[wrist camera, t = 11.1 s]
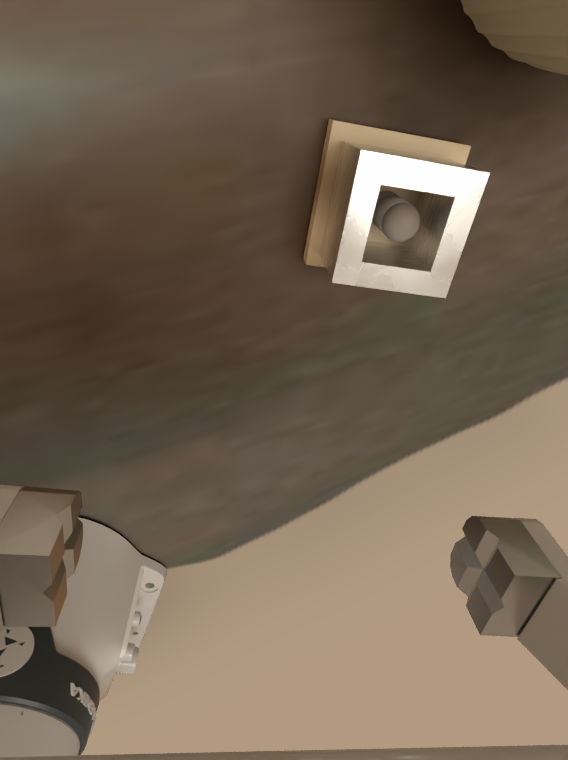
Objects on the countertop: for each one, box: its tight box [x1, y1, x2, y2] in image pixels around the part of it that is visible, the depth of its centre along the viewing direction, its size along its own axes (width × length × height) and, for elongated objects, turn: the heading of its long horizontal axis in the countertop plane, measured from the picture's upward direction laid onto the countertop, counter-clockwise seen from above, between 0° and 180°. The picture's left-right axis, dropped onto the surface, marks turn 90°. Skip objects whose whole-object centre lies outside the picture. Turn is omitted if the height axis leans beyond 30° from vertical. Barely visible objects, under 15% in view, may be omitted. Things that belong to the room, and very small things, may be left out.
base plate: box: [303, 119, 471, 267], centre depth 27 cm, size 8×8×6 cm
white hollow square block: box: [320, 141, 490, 298], centre depth 26 cm, size 6×6×5 cm
